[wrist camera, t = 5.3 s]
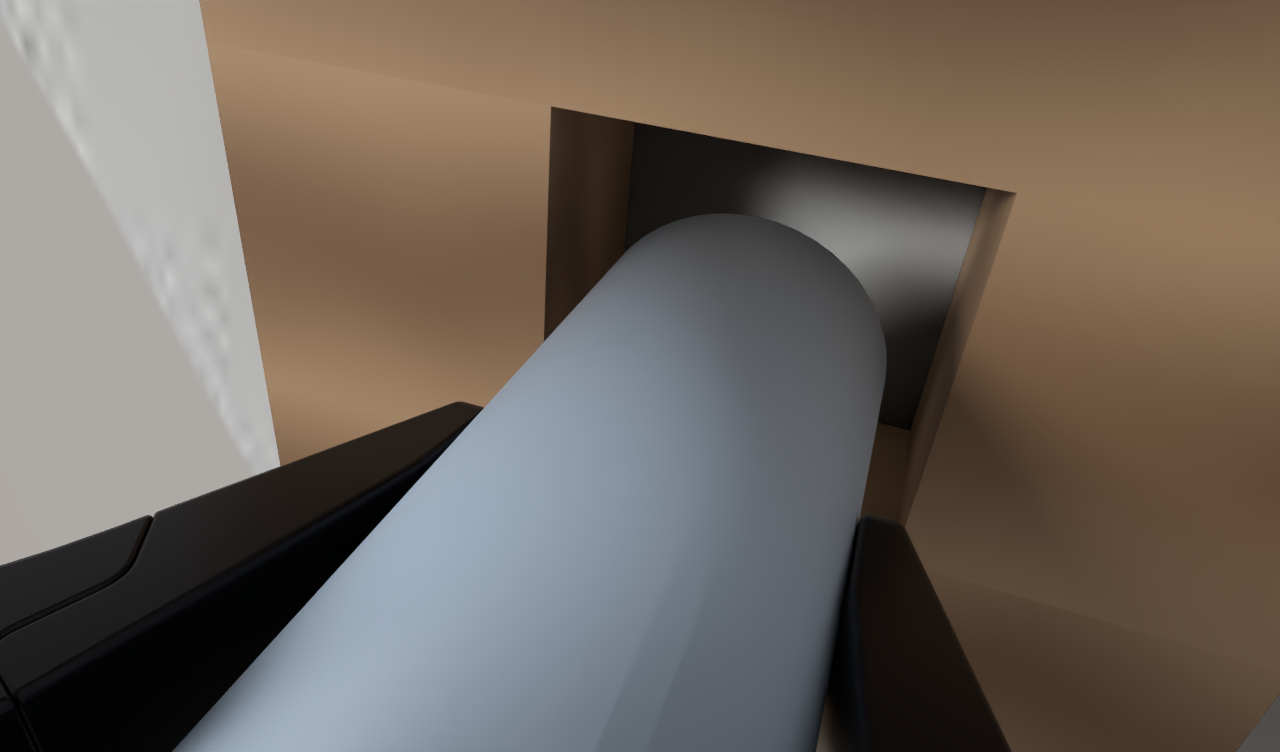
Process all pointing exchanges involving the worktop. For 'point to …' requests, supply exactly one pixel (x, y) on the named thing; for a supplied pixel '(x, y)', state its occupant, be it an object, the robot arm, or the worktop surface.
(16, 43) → the worktop surface
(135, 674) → the robot arm
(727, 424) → the peg
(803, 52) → the socket board
